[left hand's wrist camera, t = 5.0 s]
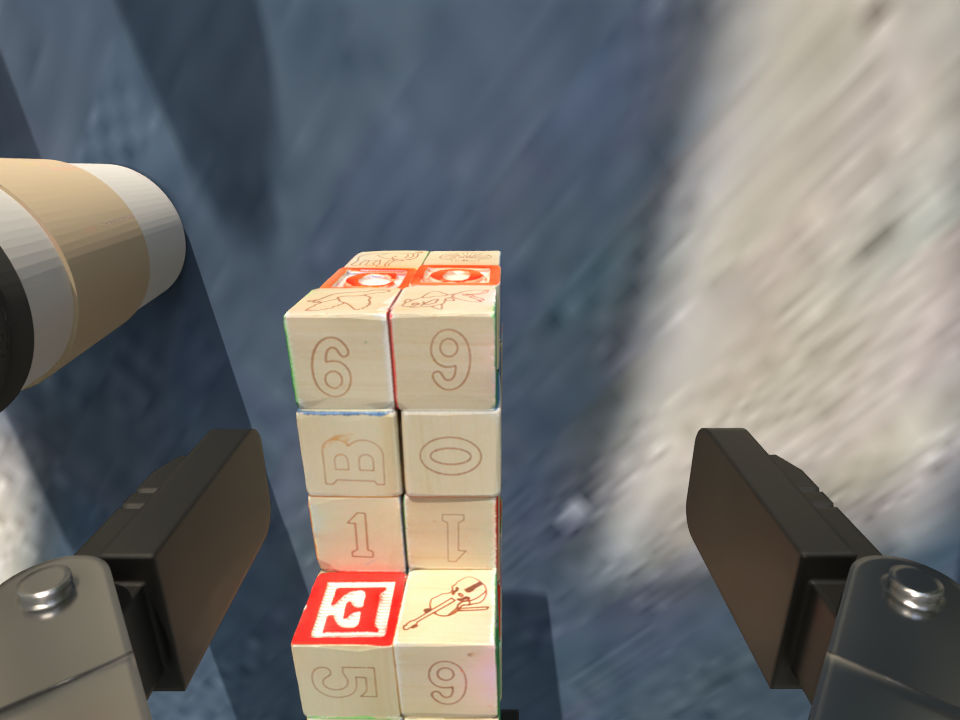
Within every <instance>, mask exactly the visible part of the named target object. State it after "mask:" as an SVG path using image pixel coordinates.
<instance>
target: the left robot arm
mask: <svg viewBox="0 0 960 720" xmlns="http://www.w3.org/2000/svg"><path fill="white" fill-rule="evenodd" d="M270 515H271V504H270V496H269V490H268V483H267V476H266V469H265V462H264V455H263V448H262V442H261V438H260V435H259V433H258V432H257V431H256V430H255V429H212V430H210V431H209V432H208V433H207V434H206V435H205V437H204V438H203V439H202V440H201V441H200V442H199V443H198V444H197V445H196V447H195V448H194V449H193V450H192V451H191V452H190V453H189V454H188V455H187V456H179V457H178V458H176V459H174V460H173V461H171V462H169V463H167V464H166V465H164V466H162V467H161V468H159V469H157V470H155V471H154V472H153V473H152V474H151V475H150V476H149V477H148V478H147V479H146V480H145V481H144V482H143V483H142V484H141V485H140V486H139V488H138V489H137V492H136V493H133V494H132V495H131V496H130V497H129V498H128V499H127V500H126V501H125V502H124V503H123V504H122V509H117V511H116V512H115V513H114V514H113V515H112V516H111V517H110V518H109V519H108V520H107V521H106V522H105V523H104V524H103V525H102V526H101V527H100V528H99V529H98V530H97V531H96V533H95V534H94V535H93V536H92V537H91V538H90V539H89V540H88V541H87V542H86V543H85V544H84V545H83V546H82V547H81V548H80V549H79V550H78V551H77V552H76V553H75V554H74V556H66V557H61V558H56V559H52V560H49V561H46V562H43V563H40V564H37V565H35V566H32V567H30V568H28V569H26V570H23V571H21V572H20V573H18V574H16V575H14V576H12V577H11V578H9V579H8V580H6V581H5V582H3V583H2V584H1V585H0V720H152V718H151V714H150V710H149V707H148V703H147V700H148V698H149V696H150V695H151V693H152V691H185V690H186V688H187V686H188V684H189V682H190V680H191V678H192V676H193V675H194V673H195V671H196V669H197V667H198V665H199V663H200V661H201V659H202V657H203V656H204V654H205V652H206V650H207V648H208V646H209V644H210V642H211V640H212V638H213V637H214V635H215V633H216V631H217V629H218V627H219V625H220V623H221V621H222V619H223V618H224V616H225V614H226V612H227V610H228V608H229V606H230V604H231V602H232V600H233V599H234V597H235V595H236V593H237V591H238V589H239V587H240V585H241V583H242V581H243V580H244V578H245V576H246V574H247V572H248V570H249V568H250V566H251V564H252V562H253V561H254V559H255V557H256V555H257V553H258V551H259V549H260V547H261V545H262V543H263V542H264V540H265V537H266V535H267V532H268V528H269V524H270ZM686 516H687V523H688V528H689V532H690V534H691V537H692V539H693V541H694V543H695V545H696V547H697V549H698V550H699V552H700V554H701V556H702V558H703V560H704V562H705V564H706V566H707V568H708V570H709V572H710V574H711V575H712V577H713V579H714V581H715V583H716V585H717V587H718V589H719V591H720V593H721V595H722V597H723V599H724V600H725V602H726V604H727V606H728V608H729V610H730V612H731V614H732V616H733V618H734V620H735V622H736V624H737V625H738V627H739V629H740V631H741V633H742V635H743V637H744V639H745V641H746V643H747V645H748V647H749V649H750V650H751V652H752V654H753V656H754V658H755V660H756V662H757V664H758V666H759V668H760V670H761V672H762V673H763V675H764V677H765V679H766V681H767V683H768V685H769V687H770V689H803V691H804V693H805V694H806V696H807V698H808V700H809V701H810V703H811V705H812V707H811V710H810V714H809V718H808V720H960V585H959V584H958V583H957V582H955V581H954V580H952V579H951V578H949V577H948V576H946V575H944V574H942V573H940V572H939V571H937V570H934V569H932V568H930V567H928V566H925V565H923V564H920V563H917V562H914V561H911V560H908V559H904V558H899V557H894V556H886V555H882V554H881V553H880V552H879V551H878V550H877V549H876V548H875V547H874V546H873V545H872V544H871V542H870V541H869V540H868V539H867V538H866V537H865V536H864V535H863V534H862V533H861V532H860V531H859V530H858V529H857V528H856V527H855V526H854V525H853V523H852V522H851V521H850V520H849V519H848V518H847V517H846V516H845V515H844V514H843V513H842V512H841V511H840V510H839V509H838V508H837V507H834V506H833V502H832V501H831V500H830V499H829V498H828V497H827V496H826V495H825V494H824V493H823V492H819V488H818V487H817V485H816V484H815V483H814V482H813V481H812V480H811V479H810V478H809V477H808V476H807V475H806V474H805V473H804V472H803V471H802V470H801V469H799V468H797V467H796V466H794V465H792V464H791V463H789V462H787V461H785V460H784V459H782V458H780V457H779V456H777V455H769V454H768V453H767V452H766V451H765V450H764V449H763V448H762V447H761V445H760V444H759V443H758V442H757V441H756V440H755V439H754V438H753V436H752V435H751V434H750V433H749V432H748V431H747V430H746V429H744V428H702V429H700V430H699V432H698V433H697V436H696V439H695V445H694V452H693V459H692V466H691V473H690V480H689V487H688V494H687V502H686Z"/></svg>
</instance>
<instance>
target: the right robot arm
mask: <svg viewBox="0 0 960 720" xmlns="http://www.w3.org/2000/svg"><path fill="white" fill-rule="evenodd" d="M501 720H519V710H507V709H501Z"/></svg>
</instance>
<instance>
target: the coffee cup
mask: <svg viewBox="0 0 960 720" xmlns="http://www.w3.org/2000/svg"><path fill="white" fill-rule="evenodd" d="M185 252H186V242H185V234H184V230H183V226H182V223H181V220H180V218H179V216H178V213H177V211H176V209H175V208H174V206H173V204H172V203H171V201H170V200H169V199H168V197H167V196H166V195H165V194H164V193H163V191H162V190H161V189H160V188H159V187H157V186H156V185H155V184H154V183H153V182H152V181H150V180H149V179H148V178H146V177H145V176H143V175H141V174H139V173H138V172H136V171H133V170H131V169H128V168H125V167H122V166H118V165H111V164H71V163H64V162H60V161H55V160H46V159H12V158H0V412H1V411H3V410H4V409H5V408H6V407H7V406H8V405H9V404H10V403H11V402H12V401H13V400H14V399H15V398H16V396H17V395H18V394H19V392H20V391H21V390H24V389H27V388H30V387H32V386H34V385H37V384H38V383H40V382H42V381H44V380H45V379H46V378H48V377H49V376H51V375H52V374H53V373H55V372H56V371H58V370H59V369H60V368H62V367H63V366H65V365H66V364H67V363H69V362H70V361H72V360H73V359H74V358H76V357H77V356H79V355H80V354H81V353H83V352H84V351H86V350H87V349H88V348H90V347H91V346H93V345H94V344H95V343H97V342H98V341H100V340H101V339H102V338H104V337H105V336H107V335H108V334H109V333H111V332H112V331H114V330H115V329H116V328H118V327H119V326H121V325H122V324H123V323H125V322H126V321H127V320H129V319H130V318H131V317H132V316H133V315H134V314H135V312H136V311H137V310H138V309H140V308H141V307H143V306H144V305H146V304H147V303H148V302H150V301H151V300H153V299H154V298H156V297H157V296H159V295H160V294H161V293H163V292H164V291H166V290H167V289H168V288H169V287H170V286H171V285H172V284H173V283H174V282H175V280H176V279H177V278H178V276H179V274H180V272H181V270H182V267H183V264H184V260H185Z"/></svg>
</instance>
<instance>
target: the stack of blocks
mask: <svg viewBox="0 0 960 720" xmlns="http://www.w3.org/2000/svg"><path fill="white" fill-rule="evenodd" d="M284 329H285V334H286V341H287V348H288V355H289V361H290V367H291V375H292V382H293V388H294V393H295V399H296V403H297V405H298V410H297V413H296V417H297V426H298V432H299V439H300V447H301V453H302V460H303V466H304V472H305V479H306V487H307V492H308V494H309V498H308V504H309V511H310V519H311V525H312V531H313V536H314V542H315V548H316V555H317V560H318V562H319V565H320V567H321V568H322V570H321V572H320V573H319V574H318V576H317V578H316V581H315V583H314V585H313V587H312V590H311V594H310V596H309V599H308V601H307V604H306V606H305V608H304V610H303V613H302V616H301V618H300V621H299V624H298V626H297V629H296V631H295V633H294V636H293V639H292V642H291V648H292V654H293V660H294V665H295V670H296V676H297V680H298V685H299V692H300V697H301V703H302V708H303V713H304V715H305V716H306V717H307V720H501V699H502V593H501V553H502V498H501V496H500V492H501V407H502V320H501V252H500V251H434V252H429V251H374V252H362V253H359V254H357V255H356V256H355V257H354V258H353V259H352V260H350V261H349V263H348V264H347V265H346V266H345V267H343V268H340V269H339V270H338V271H337V272H336V273H335V274H333V275H332V276H331V277H330V278H329V279H328V280H327V281H326V282H325V283H324V284H323V285H322V286H321V287H320V288H319V289H315V290H312V291H311V292H310V293H309V294H307V295H306V296H305V297H304V298H303V299H302V300H300V301H299V302H298V303H297V304H296V305H295V306H293V307H292V308H291V309H290V310H289V311H288V312H286V314H285V315H284Z"/></svg>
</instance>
